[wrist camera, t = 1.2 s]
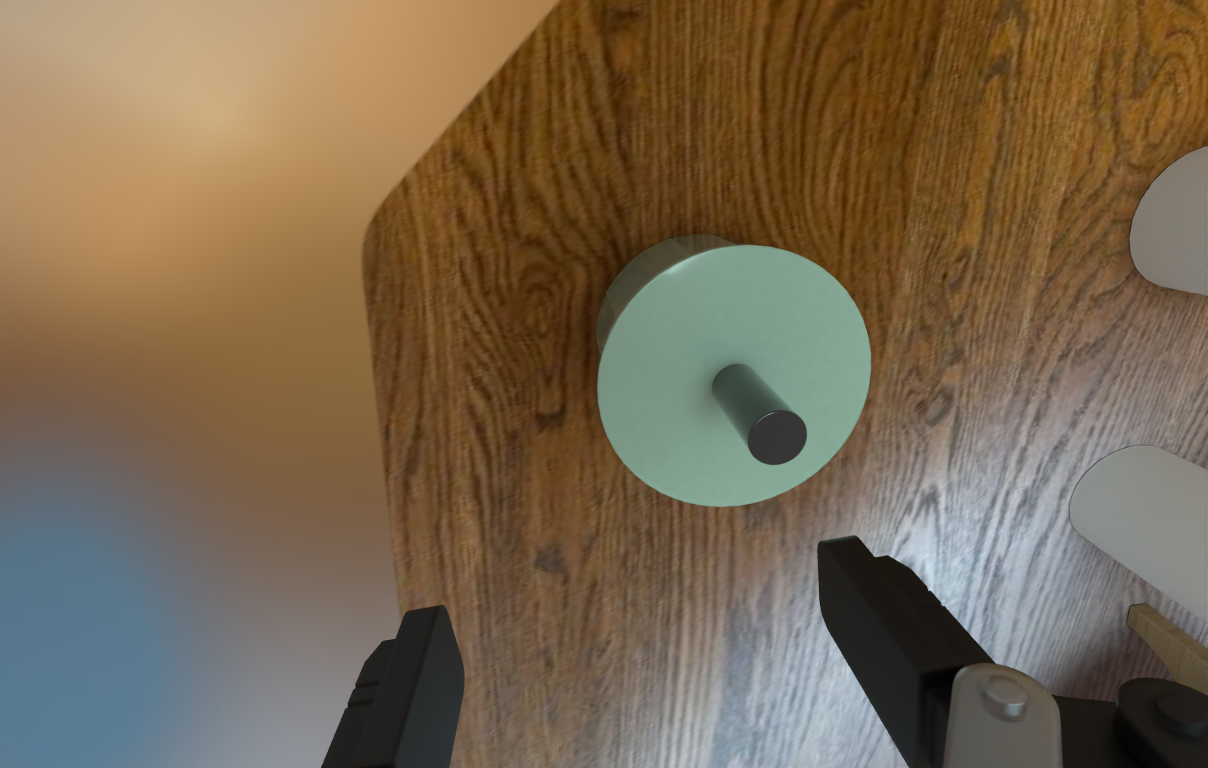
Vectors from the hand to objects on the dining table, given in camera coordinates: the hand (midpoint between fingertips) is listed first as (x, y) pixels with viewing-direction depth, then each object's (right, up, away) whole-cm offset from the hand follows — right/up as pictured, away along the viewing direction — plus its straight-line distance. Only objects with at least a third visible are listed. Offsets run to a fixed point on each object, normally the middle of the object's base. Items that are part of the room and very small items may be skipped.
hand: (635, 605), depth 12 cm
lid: (+6, +5, +17) cm, 18 cm away
